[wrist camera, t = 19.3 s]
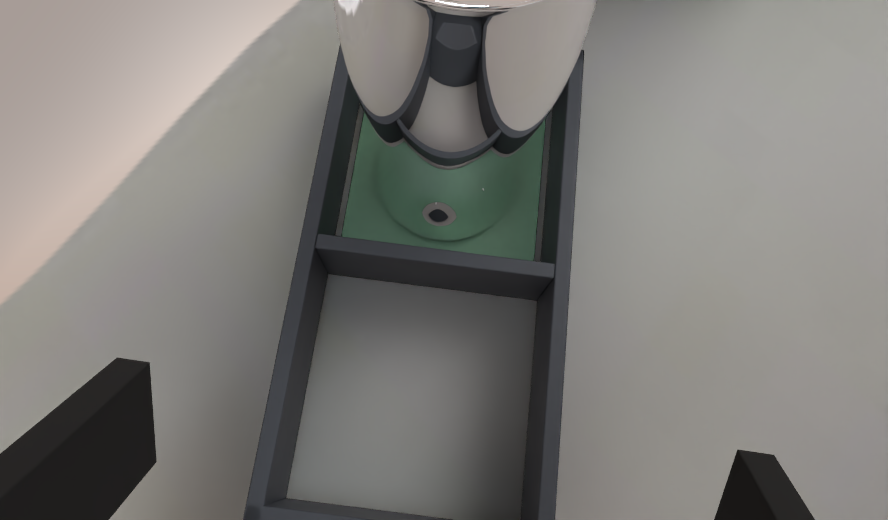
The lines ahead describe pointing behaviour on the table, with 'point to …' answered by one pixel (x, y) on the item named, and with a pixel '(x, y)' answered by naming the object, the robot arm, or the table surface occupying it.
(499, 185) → the beer glass
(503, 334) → the table surface
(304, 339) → the rectangular tray
